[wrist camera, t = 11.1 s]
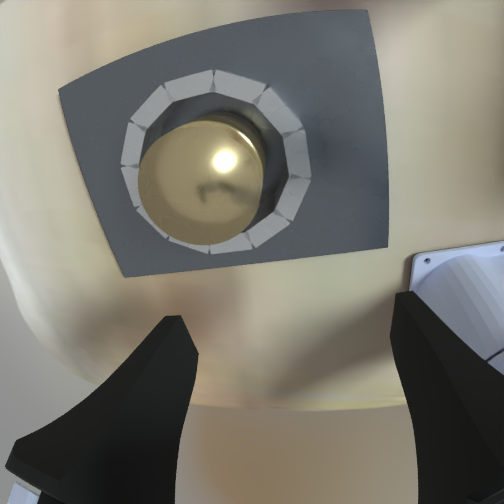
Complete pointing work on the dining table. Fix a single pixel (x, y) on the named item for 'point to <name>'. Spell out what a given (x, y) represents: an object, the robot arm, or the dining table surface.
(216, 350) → the dining table surface
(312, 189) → the socket plate
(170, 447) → the robot arm
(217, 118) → the cylinder
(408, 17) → the dining table surface
